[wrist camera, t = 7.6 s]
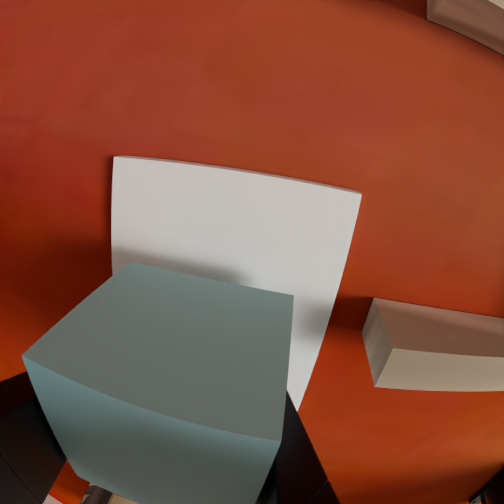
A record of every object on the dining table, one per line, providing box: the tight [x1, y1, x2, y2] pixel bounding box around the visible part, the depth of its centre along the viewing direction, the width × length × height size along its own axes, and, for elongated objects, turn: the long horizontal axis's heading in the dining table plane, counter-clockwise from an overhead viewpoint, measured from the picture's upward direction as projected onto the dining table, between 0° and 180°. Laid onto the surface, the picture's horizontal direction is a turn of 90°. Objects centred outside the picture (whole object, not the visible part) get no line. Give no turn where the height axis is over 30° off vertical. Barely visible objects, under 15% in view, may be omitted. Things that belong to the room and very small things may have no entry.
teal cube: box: [22, 261, 294, 504], centre depth 8 cm, size 5×5×5 cm
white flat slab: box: [111, 155, 362, 411], centre depth 12 cm, size 11×8×1 cm
